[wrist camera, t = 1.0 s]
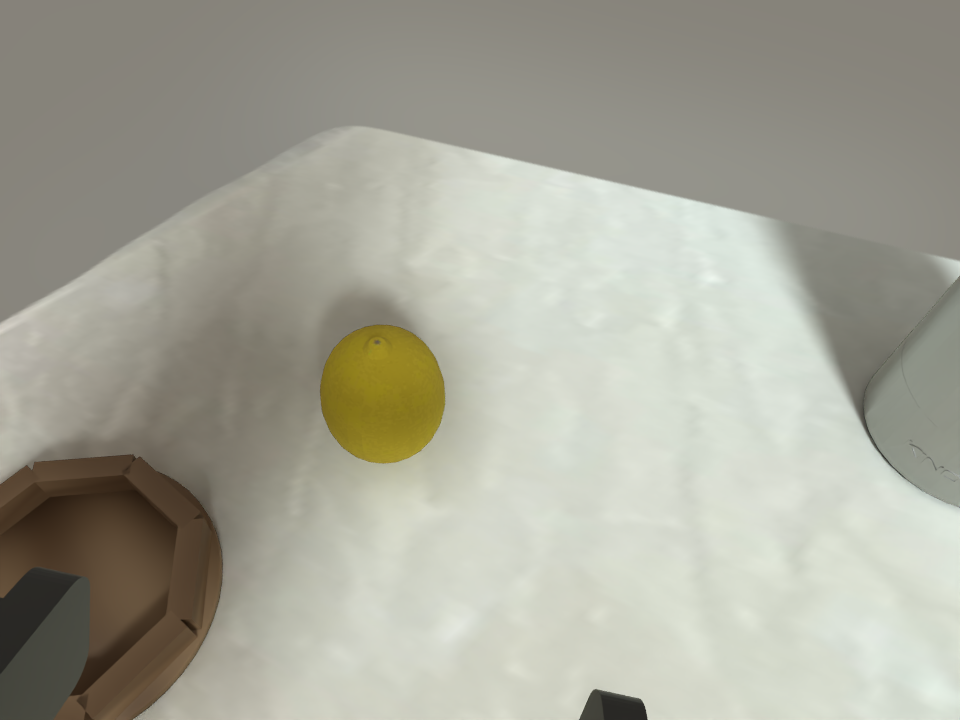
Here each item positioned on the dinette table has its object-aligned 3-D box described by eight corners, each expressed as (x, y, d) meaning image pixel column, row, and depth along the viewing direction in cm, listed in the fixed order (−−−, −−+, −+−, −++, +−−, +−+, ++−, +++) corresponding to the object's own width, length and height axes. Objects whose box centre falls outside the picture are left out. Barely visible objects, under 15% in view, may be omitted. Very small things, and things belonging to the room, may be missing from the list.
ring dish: (112, 423, 35) (97, 401, 34) (280, 576, 31) (271, 559, 30) (-140, 616, 30) (-173, 600, 28) (26, 832, 26) (-2, 829, 24)
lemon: (467, 434, 36) (472, 336, 30) (391, 513, 33) (378, 425, 27) (386, 375, 38) (375, 271, 31) (308, 445, 35) (278, 347, 29)
